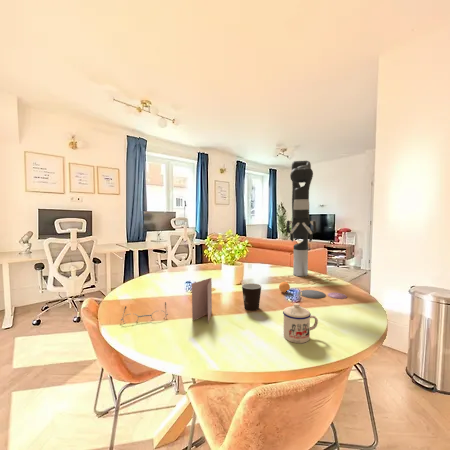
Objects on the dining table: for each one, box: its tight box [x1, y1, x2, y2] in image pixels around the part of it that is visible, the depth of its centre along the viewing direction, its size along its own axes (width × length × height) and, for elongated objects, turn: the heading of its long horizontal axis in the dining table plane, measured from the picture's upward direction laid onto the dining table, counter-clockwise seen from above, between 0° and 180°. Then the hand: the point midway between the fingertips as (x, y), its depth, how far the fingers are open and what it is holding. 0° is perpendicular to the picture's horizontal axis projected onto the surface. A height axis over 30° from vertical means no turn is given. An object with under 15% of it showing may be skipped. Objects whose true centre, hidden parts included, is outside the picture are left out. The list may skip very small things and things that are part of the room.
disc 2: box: [327, 292, 348, 300], centre depth 131 cm, size 9×9×1 cm
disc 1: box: [300, 289, 327, 299], centre depth 134 cm, size 13×13×1 cm
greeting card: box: [191, 277, 213, 323], centre depth 105 cm, size 11×7×15 cm, turn 141°
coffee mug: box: [241, 282, 262, 312], centre depth 117 cm, size 12×9×10 cm
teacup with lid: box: [282, 302, 319, 344], centre depth 89 cm, size 12×9×12 cm
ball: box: [278, 281, 291, 294], centre depth 137 cm, size 6×6×6 cm
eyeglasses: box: [120, 301, 169, 323], centre depth 112 cm, size 18×19×4 cm
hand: (301, 241), depth 129 cm, fingers open, 8 cm apart
